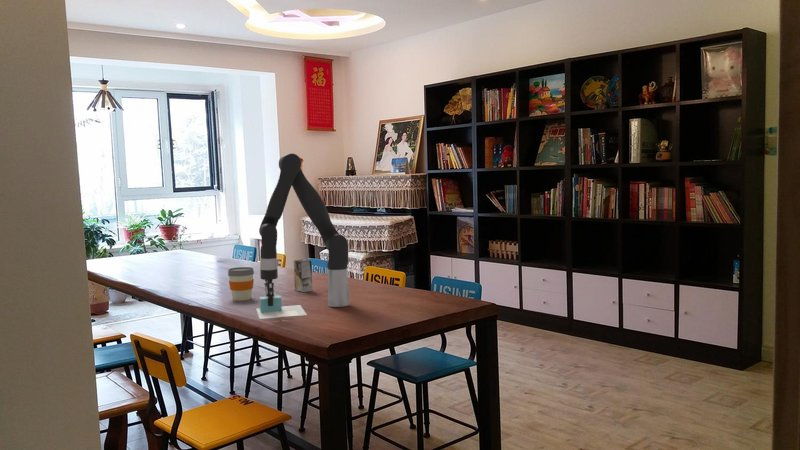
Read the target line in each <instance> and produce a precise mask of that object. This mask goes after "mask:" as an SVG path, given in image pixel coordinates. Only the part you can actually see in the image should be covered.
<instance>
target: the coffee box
mask: <svg viewBox="0 0 800 450" xmlns="http://www.w3.org/2000/svg"><path fill="white" fill-rule="evenodd" d="M312 273H313V270H312V260H309V259H304V258H303V259H296V260H295V259H294V260H293V274H294V275H293V276H294V277H293V278H294V291H297V292H301V293H307V292H313V274H312Z"/></svg>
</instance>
